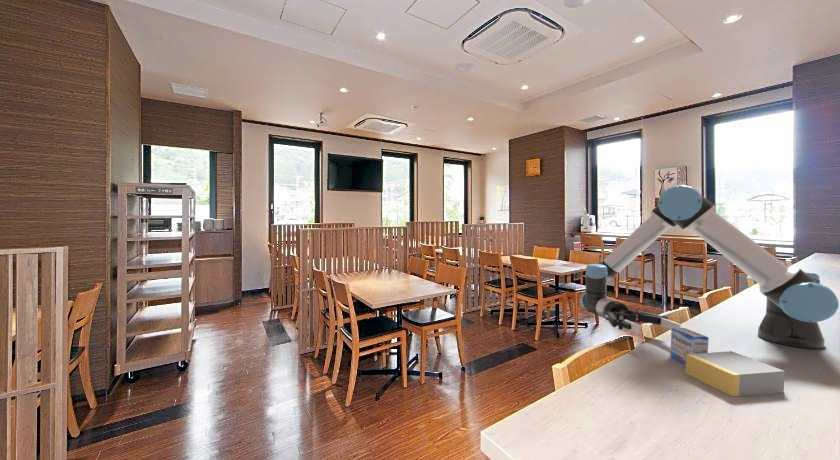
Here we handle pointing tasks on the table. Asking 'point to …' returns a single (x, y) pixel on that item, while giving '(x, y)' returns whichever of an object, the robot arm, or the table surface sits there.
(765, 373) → the block
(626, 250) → the robot arm
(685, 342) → the medicine box
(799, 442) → the table surface
